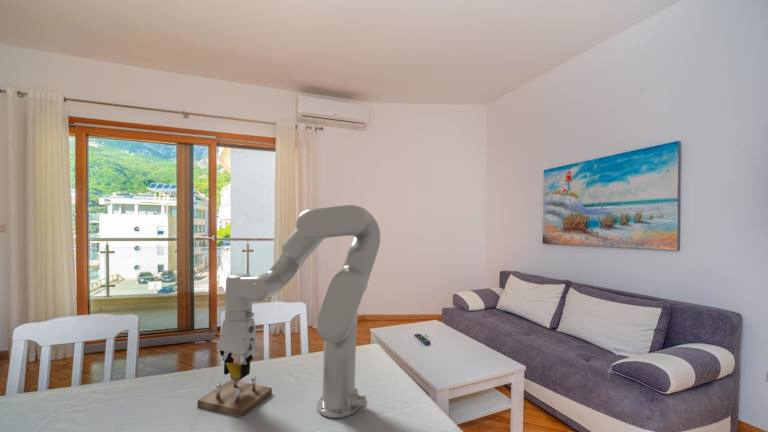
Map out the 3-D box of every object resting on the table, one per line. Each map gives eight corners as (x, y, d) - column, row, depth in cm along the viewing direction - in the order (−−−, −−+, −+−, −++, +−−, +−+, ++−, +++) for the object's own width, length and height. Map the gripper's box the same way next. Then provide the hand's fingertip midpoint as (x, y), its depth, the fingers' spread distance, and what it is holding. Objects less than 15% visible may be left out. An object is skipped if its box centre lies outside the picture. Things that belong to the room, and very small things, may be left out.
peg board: (271, 393, 102) (272, 375, 102) (242, 417, 89) (243, 396, 89) (230, 385, 106) (231, 367, 107) (197, 406, 94) (198, 386, 94)
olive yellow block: (252, 380, 99) (232, 367, 93) (236, 387, 99) (215, 375, 93) (253, 364, 103) (234, 350, 97) (238, 371, 103) (218, 357, 97)
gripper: (270, 314, 100) (268, 373, 99) (225, 308, 105) (223, 364, 104) (253, 321, 92) (251, 384, 92) (206, 315, 97) (204, 375, 97)
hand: (236, 373), depth 98 cm, fingers closed on olive yellow block, 5 cm apart
